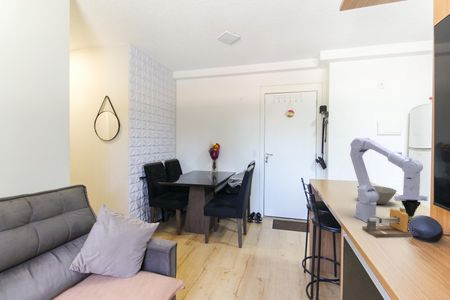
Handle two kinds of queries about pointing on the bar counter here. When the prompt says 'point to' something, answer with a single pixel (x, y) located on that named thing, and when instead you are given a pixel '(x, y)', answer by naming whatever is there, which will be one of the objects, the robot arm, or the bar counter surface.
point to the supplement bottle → (403, 209)
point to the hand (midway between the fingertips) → (410, 216)
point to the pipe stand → (385, 228)
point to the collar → (403, 220)
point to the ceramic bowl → (384, 194)
